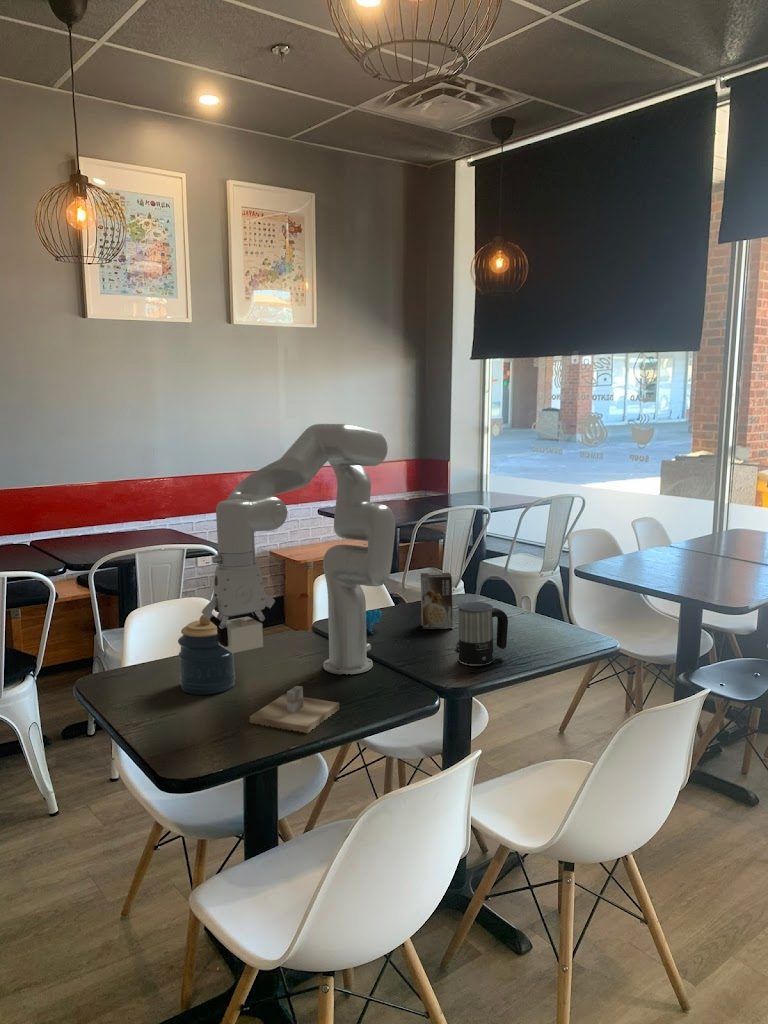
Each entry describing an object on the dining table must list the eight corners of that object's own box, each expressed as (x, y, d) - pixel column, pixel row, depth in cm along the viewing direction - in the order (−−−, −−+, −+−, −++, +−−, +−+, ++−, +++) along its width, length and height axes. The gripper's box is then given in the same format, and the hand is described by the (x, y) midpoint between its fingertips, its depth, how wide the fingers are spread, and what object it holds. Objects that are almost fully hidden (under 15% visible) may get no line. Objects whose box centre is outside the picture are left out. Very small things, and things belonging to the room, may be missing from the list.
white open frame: (218, 644, 168) (217, 620, 168) (249, 638, 172) (248, 615, 172) (232, 653, 163) (231, 628, 162) (263, 646, 167) (262, 622, 166)
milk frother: (475, 670, 199) (476, 612, 197) (432, 655, 211) (432, 601, 209) (513, 657, 208) (513, 602, 206) (469, 644, 220) (469, 592, 218)
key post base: (284, 700, 180) (283, 674, 179) (339, 709, 175) (338, 683, 174) (250, 723, 168) (248, 695, 167) (307, 733, 162) (306, 705, 161)
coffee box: (450, 623, 241) (450, 572, 239) (452, 629, 235) (452, 576, 233) (420, 624, 241) (420, 572, 239) (422, 630, 235) (421, 577, 233)
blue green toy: (376, 621, 239) (383, 604, 231) (384, 637, 236) (391, 621, 228) (343, 630, 235) (348, 613, 227) (350, 647, 232) (356, 631, 224)
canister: (216, 698, 182) (213, 624, 180) (169, 692, 186) (165, 619, 184) (245, 680, 194) (242, 610, 192) (200, 674, 198) (197, 605, 196)
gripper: (204, 567, 157) (208, 654, 159) (282, 556, 167) (285, 638, 169) (190, 561, 163) (194, 645, 166) (266, 551, 173) (270, 630, 175)
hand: (240, 641), depth 167 cm, fingers closed on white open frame, 7 cm apart
